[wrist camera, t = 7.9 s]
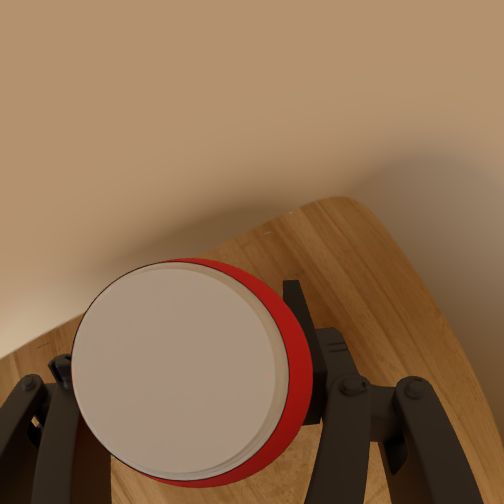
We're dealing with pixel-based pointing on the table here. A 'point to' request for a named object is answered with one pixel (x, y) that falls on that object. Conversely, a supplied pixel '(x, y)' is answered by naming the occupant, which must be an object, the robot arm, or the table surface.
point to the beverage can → (191, 372)
